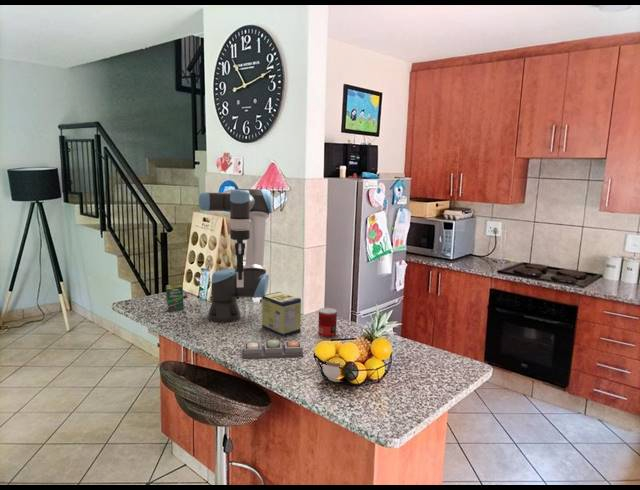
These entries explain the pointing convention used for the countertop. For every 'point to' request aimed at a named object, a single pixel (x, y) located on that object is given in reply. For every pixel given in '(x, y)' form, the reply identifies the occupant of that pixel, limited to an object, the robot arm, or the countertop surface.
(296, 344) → the button terracotta
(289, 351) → the button panel
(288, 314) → the protein box
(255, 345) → the button cream
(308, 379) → the countertop surface
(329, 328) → the canned food
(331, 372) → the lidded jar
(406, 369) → the countertop surface
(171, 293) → the coffee box
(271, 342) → the button sage
